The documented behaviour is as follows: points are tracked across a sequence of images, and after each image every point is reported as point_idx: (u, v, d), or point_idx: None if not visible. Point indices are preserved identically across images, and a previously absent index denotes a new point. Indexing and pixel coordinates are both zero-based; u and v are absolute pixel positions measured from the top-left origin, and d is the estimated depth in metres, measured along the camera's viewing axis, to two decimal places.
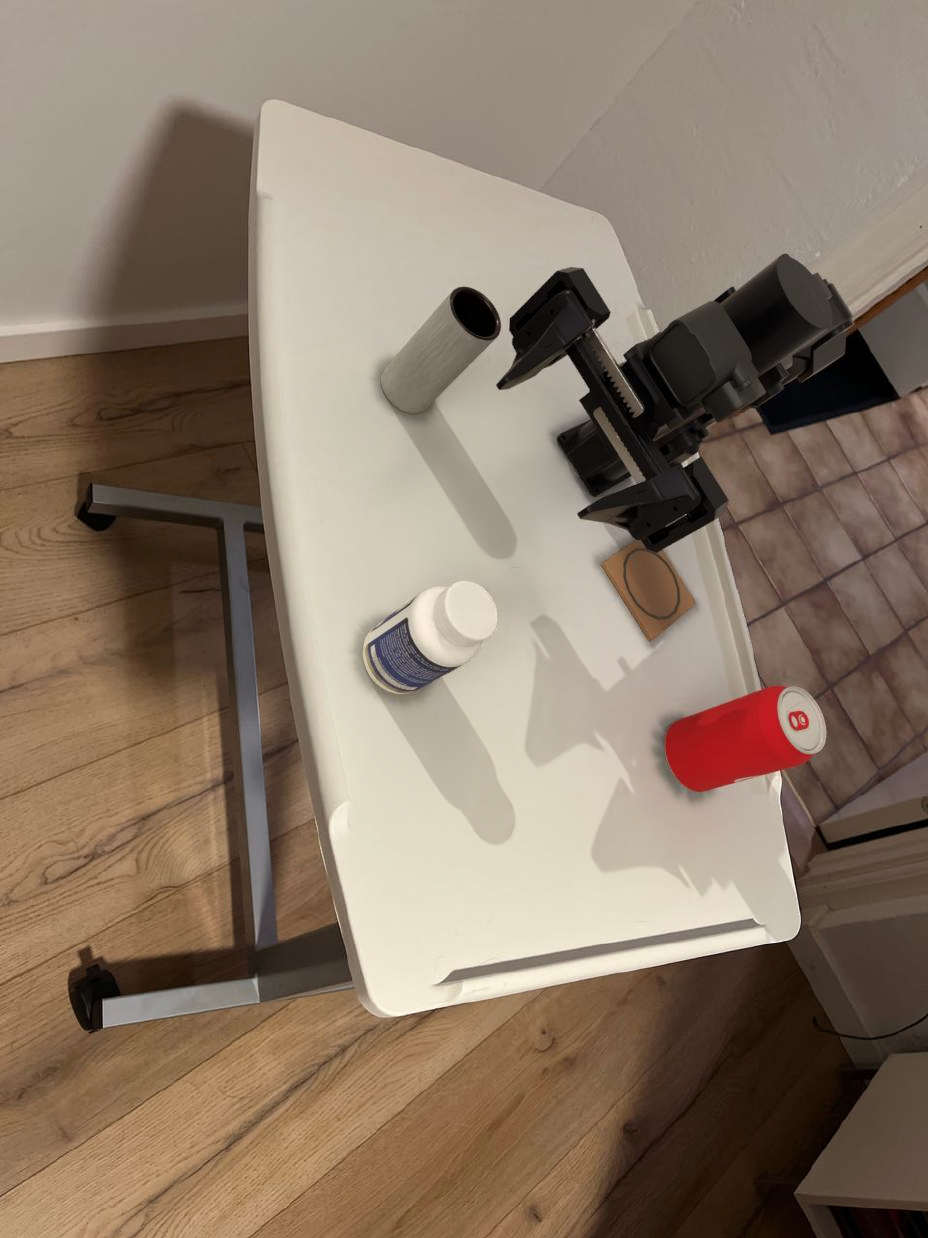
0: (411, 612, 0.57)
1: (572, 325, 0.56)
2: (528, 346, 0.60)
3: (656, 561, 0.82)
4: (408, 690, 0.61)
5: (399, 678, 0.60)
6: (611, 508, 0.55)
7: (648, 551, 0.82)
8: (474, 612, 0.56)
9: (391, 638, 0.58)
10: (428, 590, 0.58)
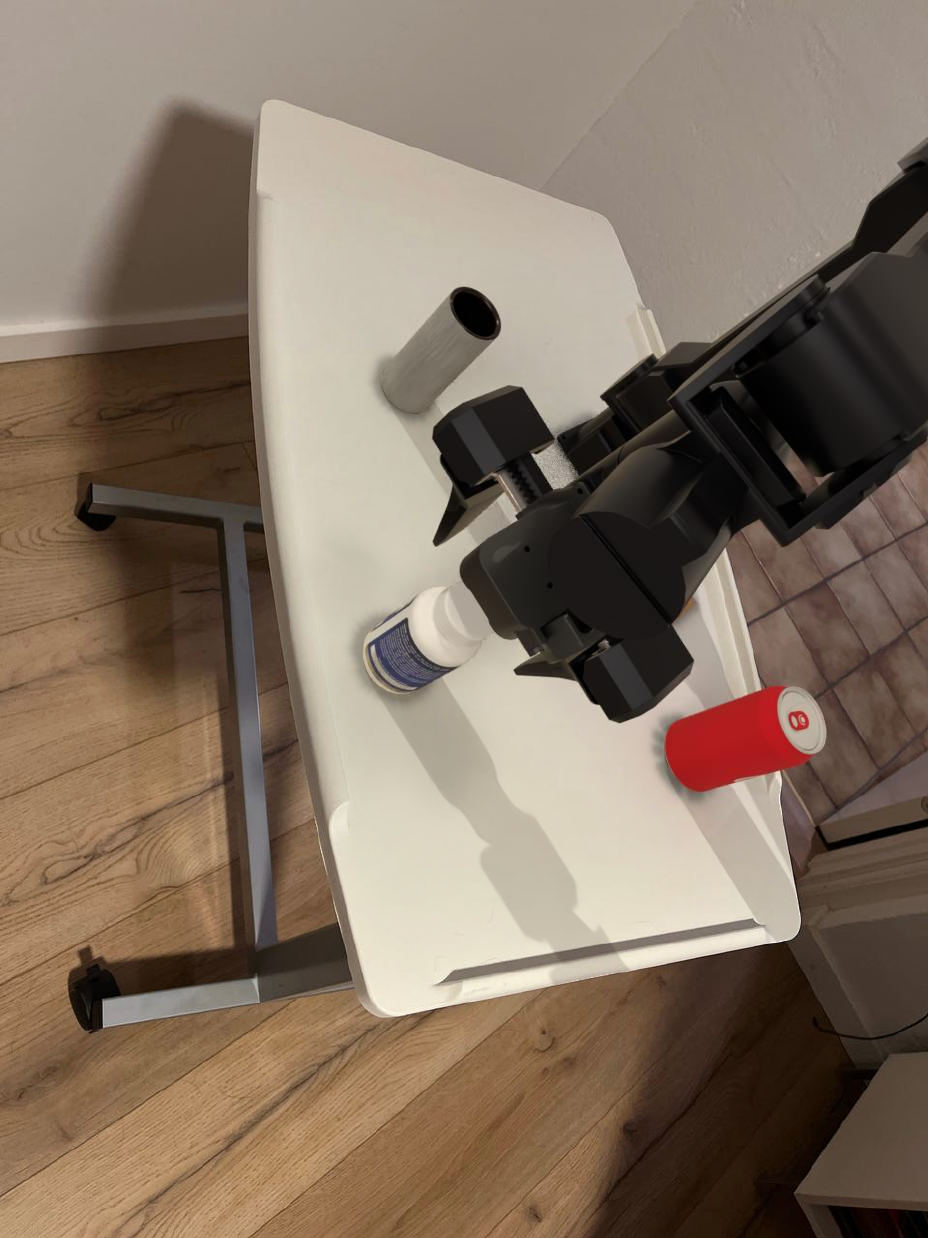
0: (411, 612, 0.57)
1: None
2: None
3: None
4: (408, 690, 0.61)
5: (399, 678, 0.60)
6: None
7: None
8: (474, 612, 0.56)
9: (391, 638, 0.58)
10: (428, 590, 0.58)
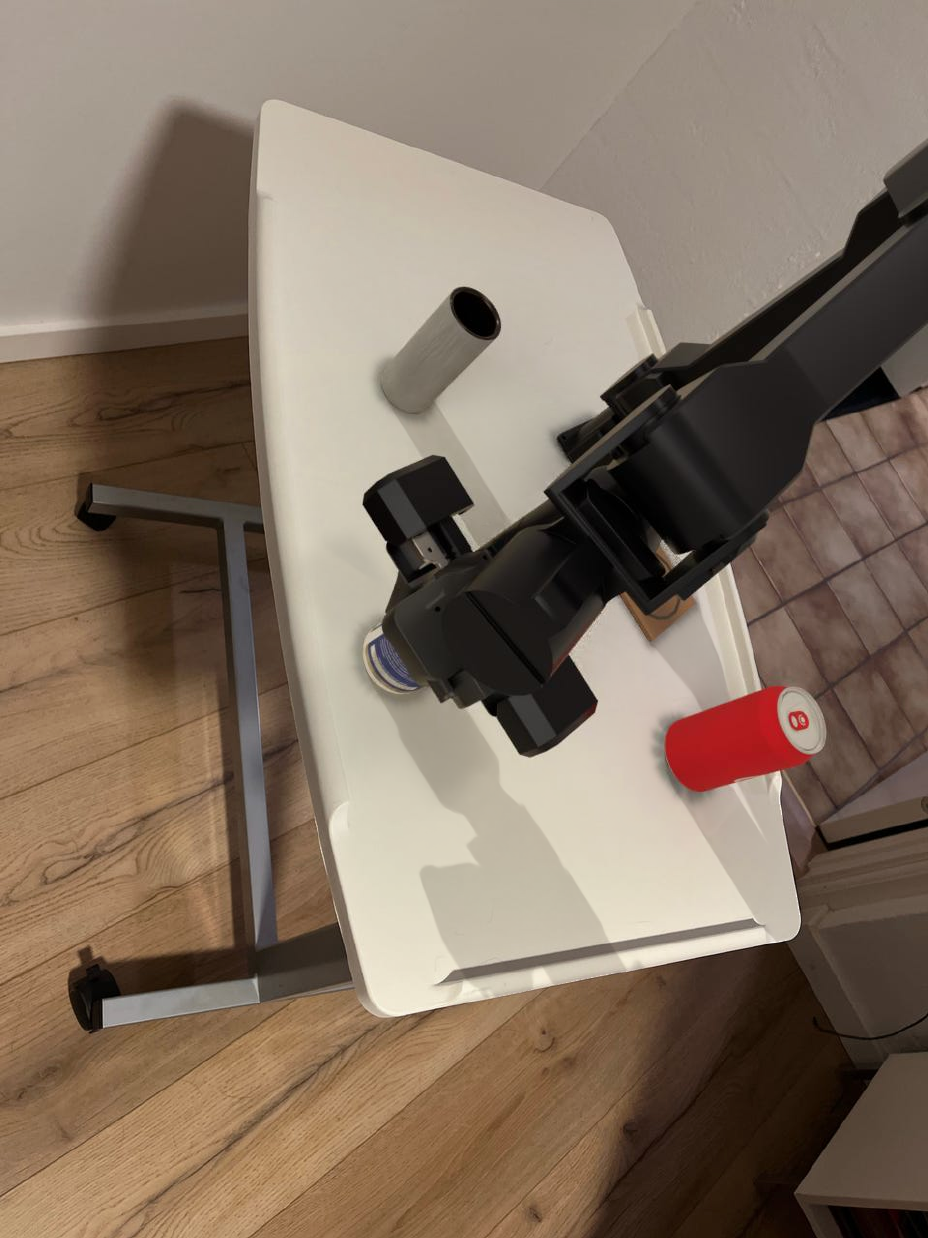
0: None
1: None
2: None
3: None
4: (408, 690, 0.61)
5: (399, 678, 0.60)
6: None
7: None
8: None
9: None
10: None
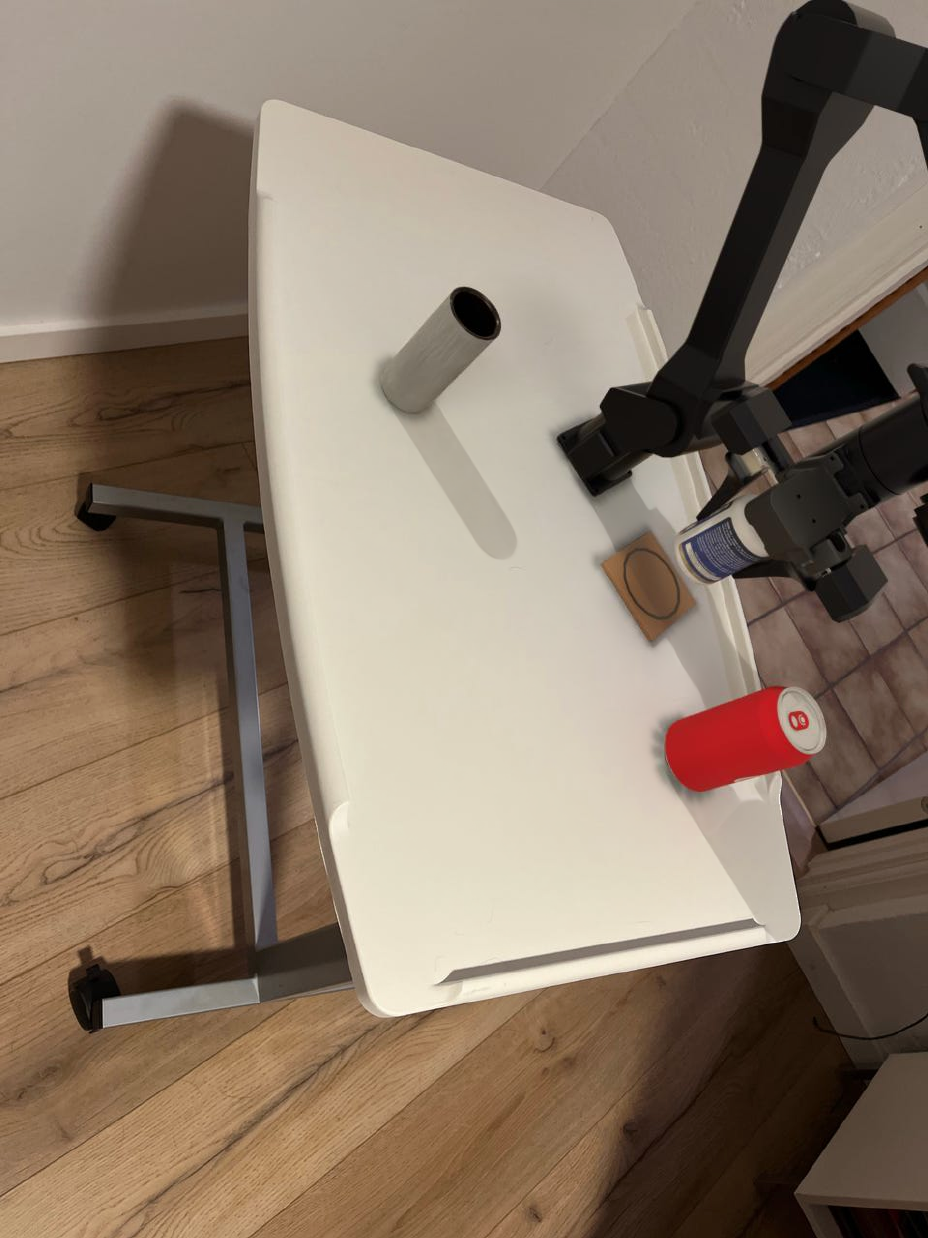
0: (734, 512, 0.72)
1: (735, 481, 0.70)
2: None
3: (656, 561, 0.82)
4: (712, 580, 0.76)
5: (712, 569, 0.75)
6: (750, 577, 0.74)
7: (648, 551, 0.82)
8: None
9: (711, 535, 0.73)
10: (744, 496, 0.73)
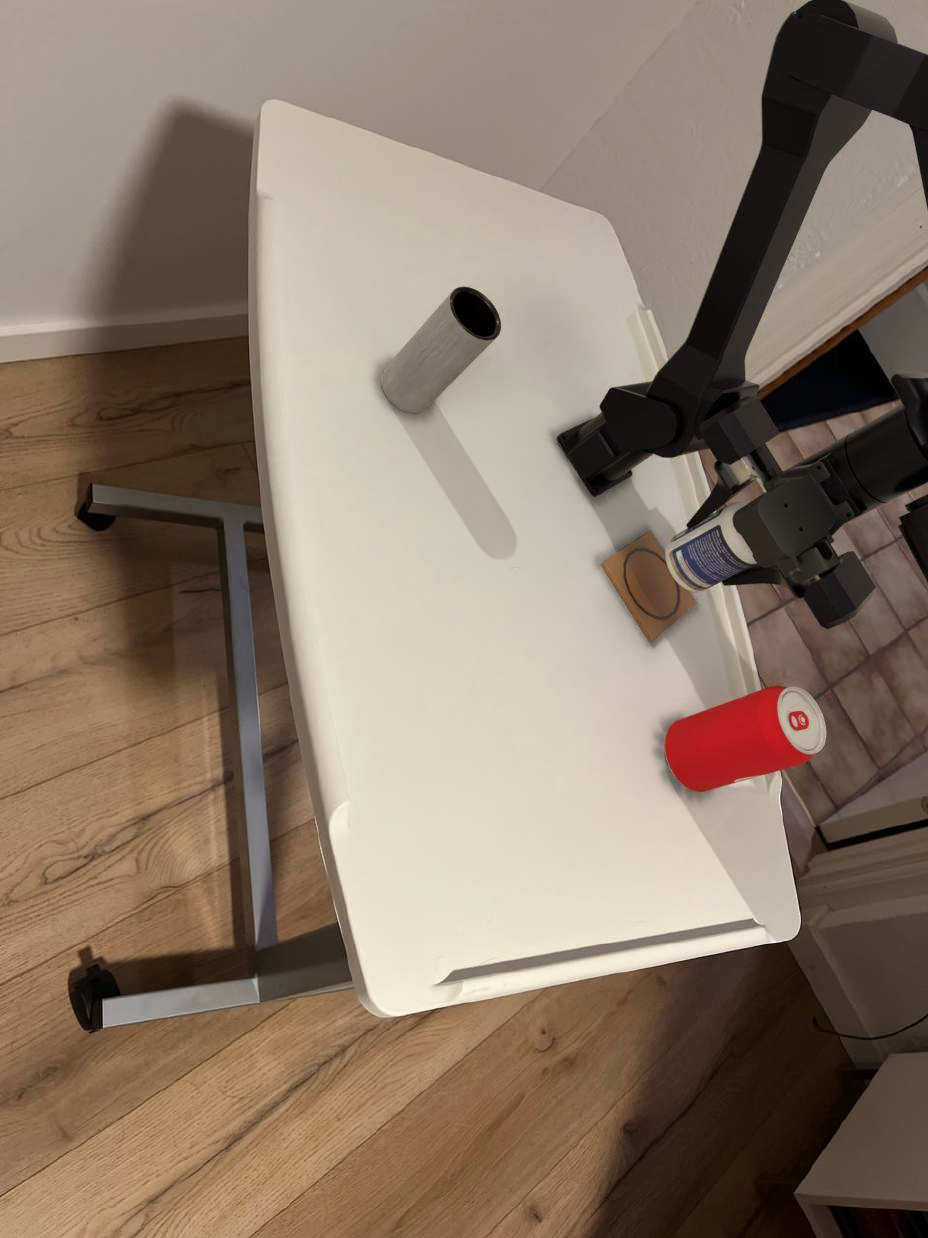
0: (723, 520, 0.73)
1: (724, 490, 0.71)
2: None
3: (656, 561, 0.82)
4: (703, 587, 0.77)
5: (702, 576, 0.75)
6: None
7: (648, 551, 0.82)
8: None
9: (701, 542, 0.74)
10: (733, 504, 0.73)
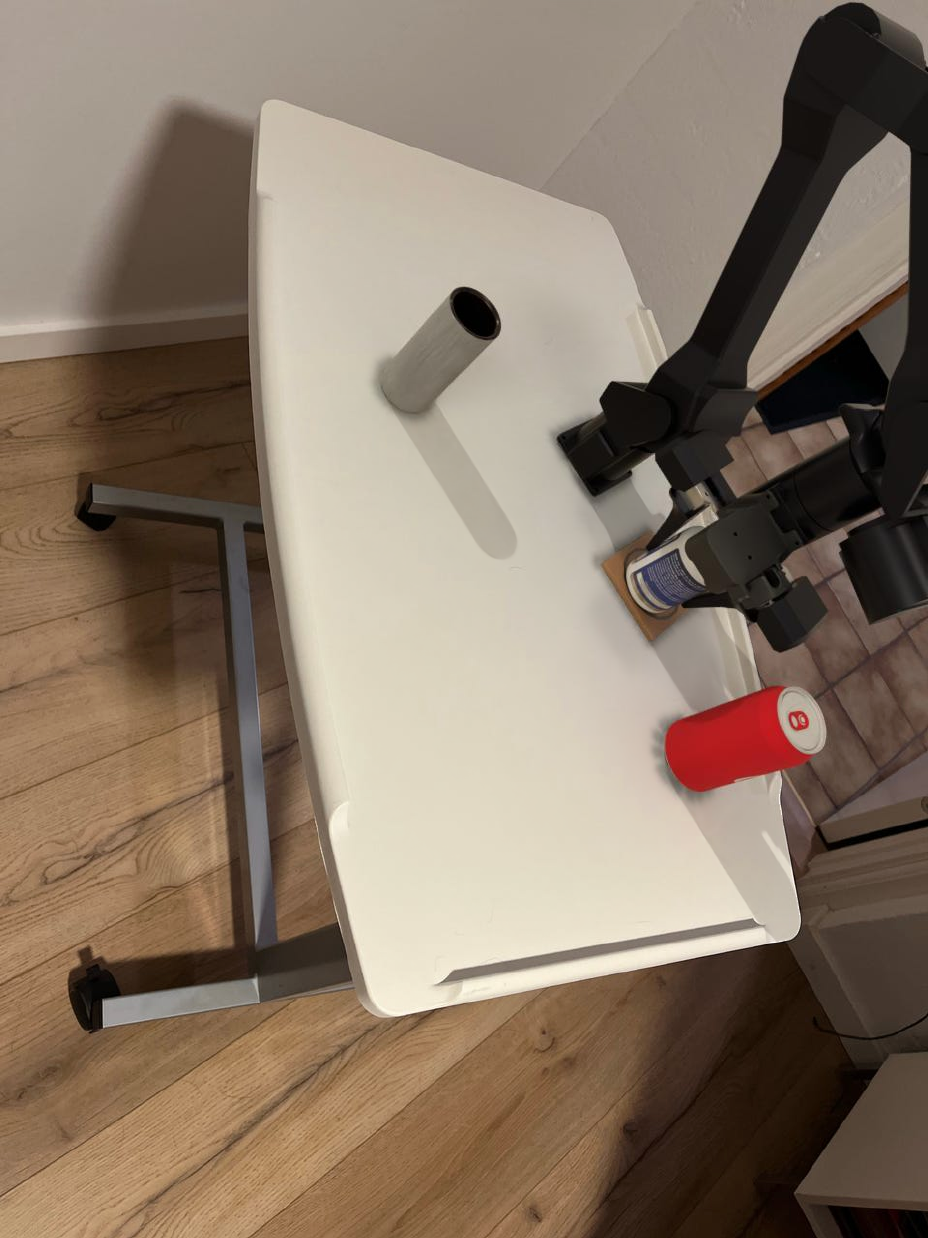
0: (682, 544, 0.74)
1: (679, 515, 0.72)
2: None
3: None
4: (663, 609, 0.78)
5: (662, 598, 0.77)
6: None
7: None
8: None
9: (661, 565, 0.76)
10: (691, 527, 0.75)
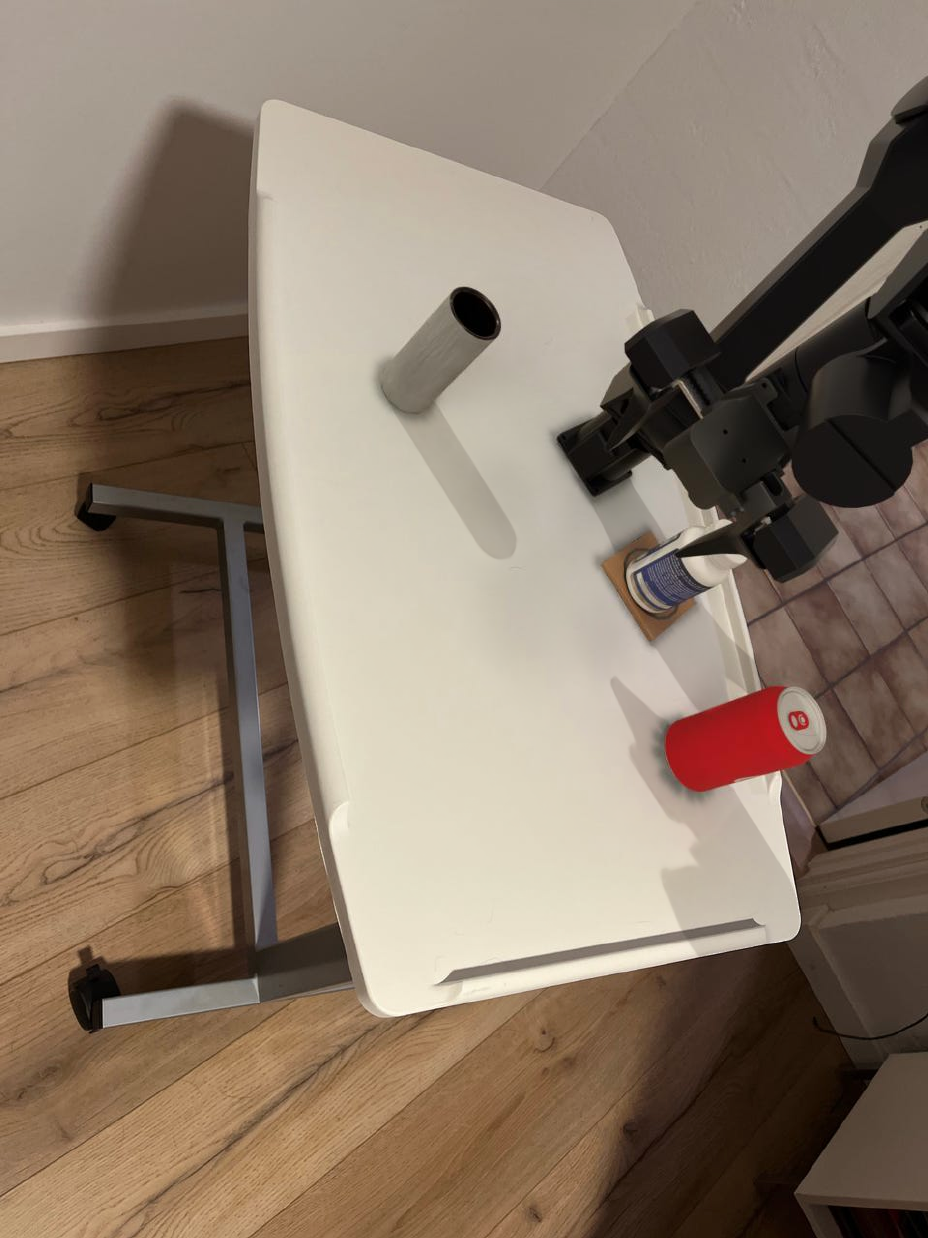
0: (682, 544, 0.74)
1: (642, 399, 0.60)
2: None
3: None
4: (663, 609, 0.78)
5: (662, 598, 0.77)
6: (695, 555, 0.64)
7: None
8: None
9: (661, 565, 0.76)
10: (691, 527, 0.75)
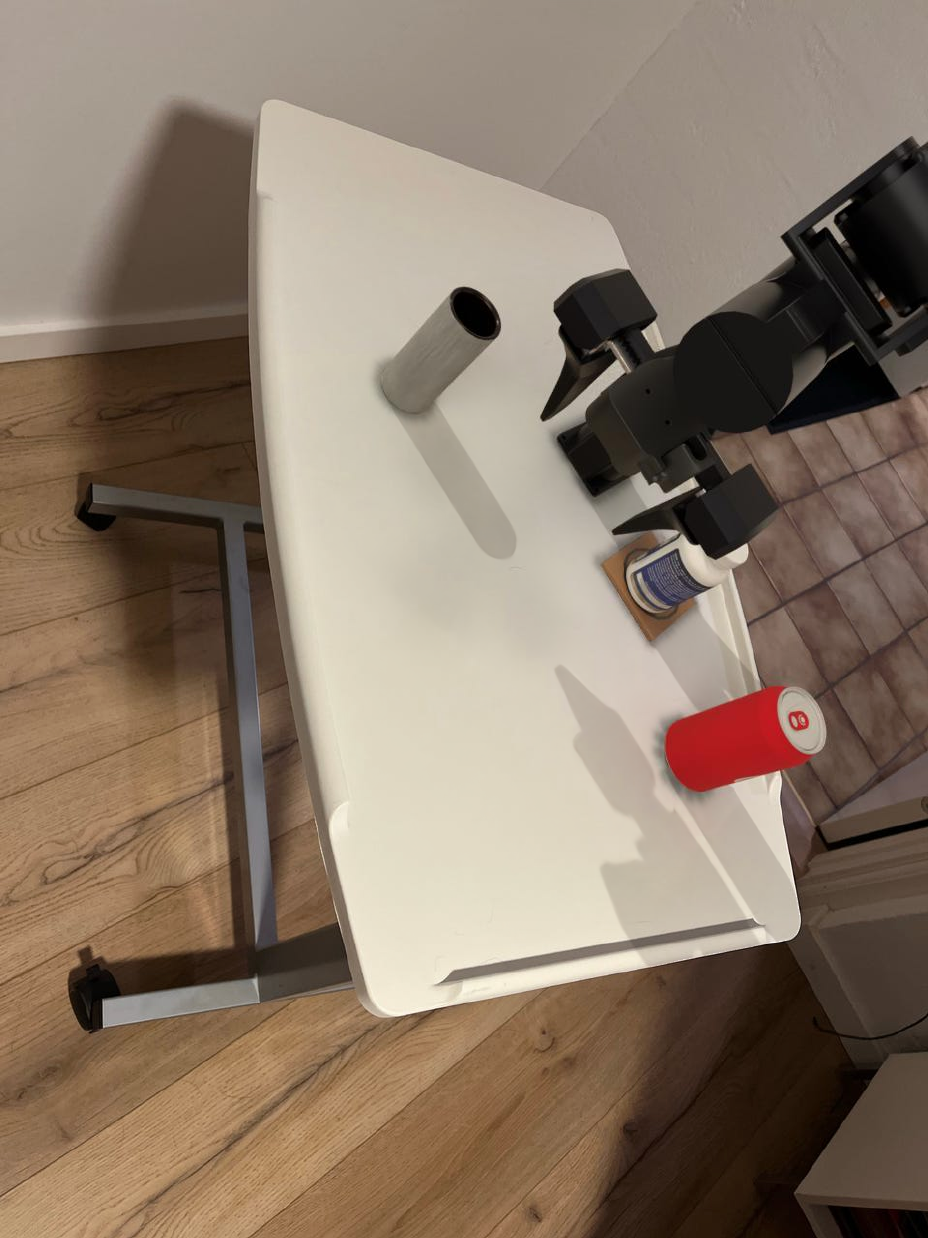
0: (682, 544, 0.74)
1: (573, 362, 0.56)
2: None
3: None
4: (663, 609, 0.78)
5: (662, 598, 0.77)
6: None
7: None
8: None
9: (661, 565, 0.76)
10: None
